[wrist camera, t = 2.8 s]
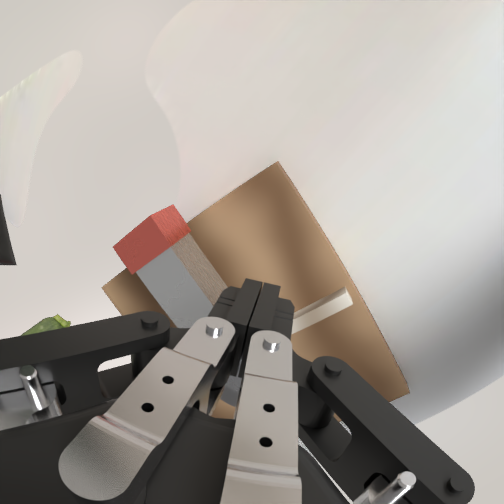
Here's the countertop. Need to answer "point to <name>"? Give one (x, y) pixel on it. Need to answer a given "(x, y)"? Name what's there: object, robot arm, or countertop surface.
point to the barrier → (5, 241)
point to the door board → (283, 278)
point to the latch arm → (175, 273)
